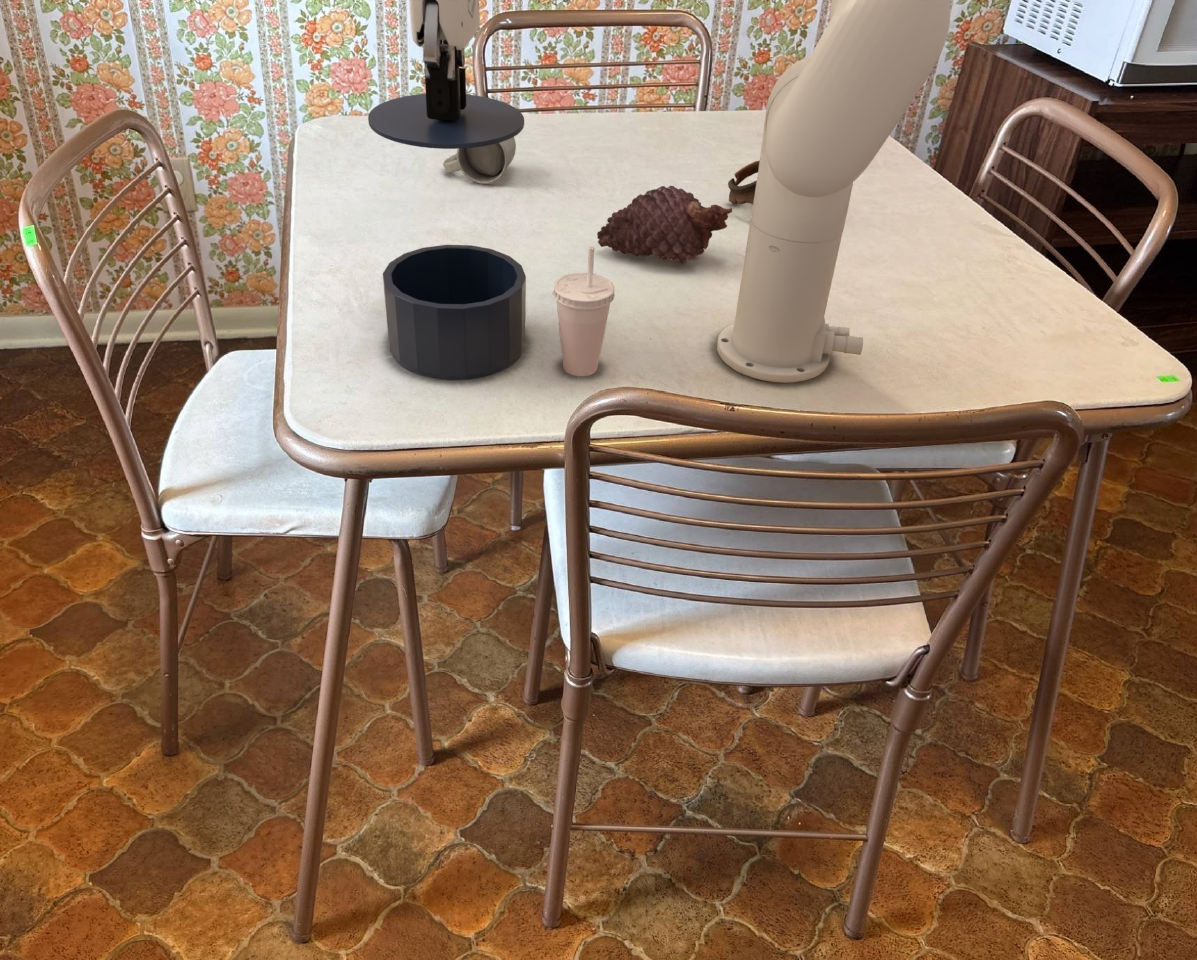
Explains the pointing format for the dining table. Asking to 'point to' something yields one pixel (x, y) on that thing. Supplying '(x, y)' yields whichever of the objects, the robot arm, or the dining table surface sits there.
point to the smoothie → (582, 317)
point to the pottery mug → (746, 191)
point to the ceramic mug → (482, 161)
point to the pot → (455, 311)
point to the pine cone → (663, 225)
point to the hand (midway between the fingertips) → (447, 111)
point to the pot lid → (446, 122)
